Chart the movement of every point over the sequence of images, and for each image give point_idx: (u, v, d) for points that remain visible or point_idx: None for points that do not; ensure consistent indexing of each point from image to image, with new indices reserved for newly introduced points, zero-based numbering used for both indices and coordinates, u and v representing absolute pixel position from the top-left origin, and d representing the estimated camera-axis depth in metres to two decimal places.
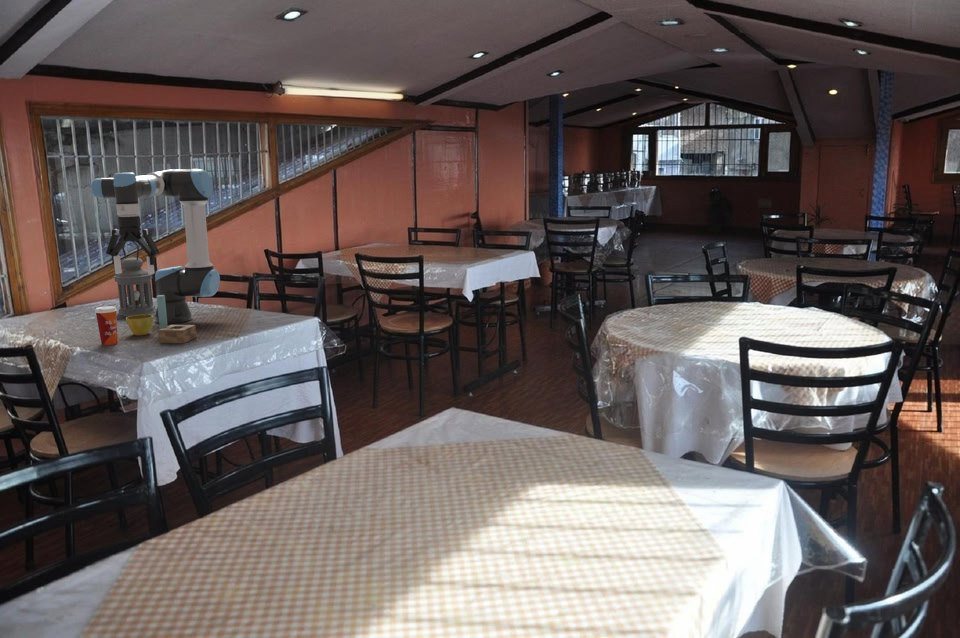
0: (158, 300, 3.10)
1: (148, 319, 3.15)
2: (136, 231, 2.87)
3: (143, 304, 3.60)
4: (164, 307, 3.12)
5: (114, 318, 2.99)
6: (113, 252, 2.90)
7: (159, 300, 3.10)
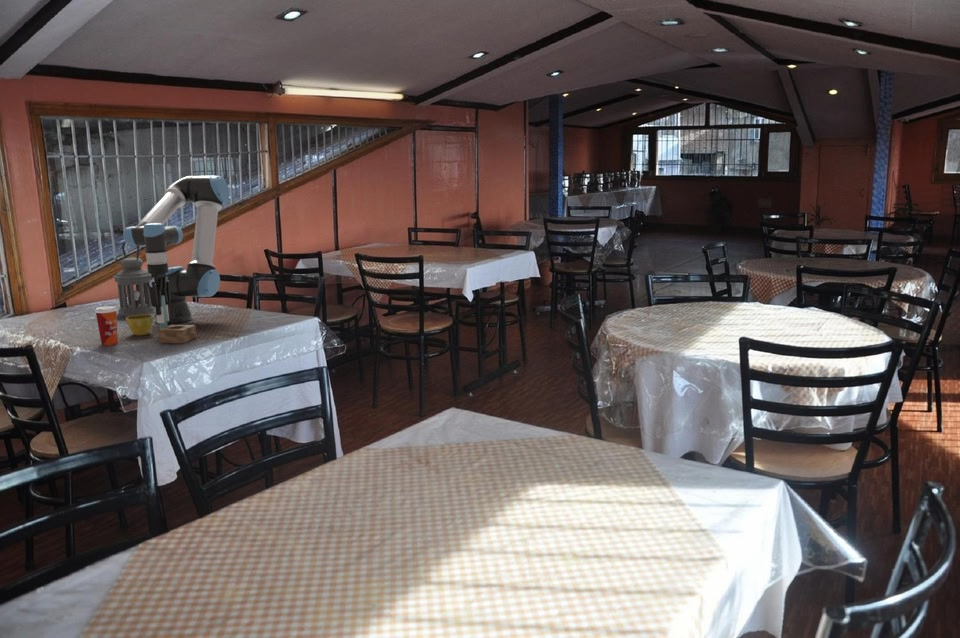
0: None
1: (148, 319, 3.15)
2: None
3: (143, 304, 3.60)
4: (164, 307, 3.12)
5: (114, 318, 2.99)
6: None
7: None
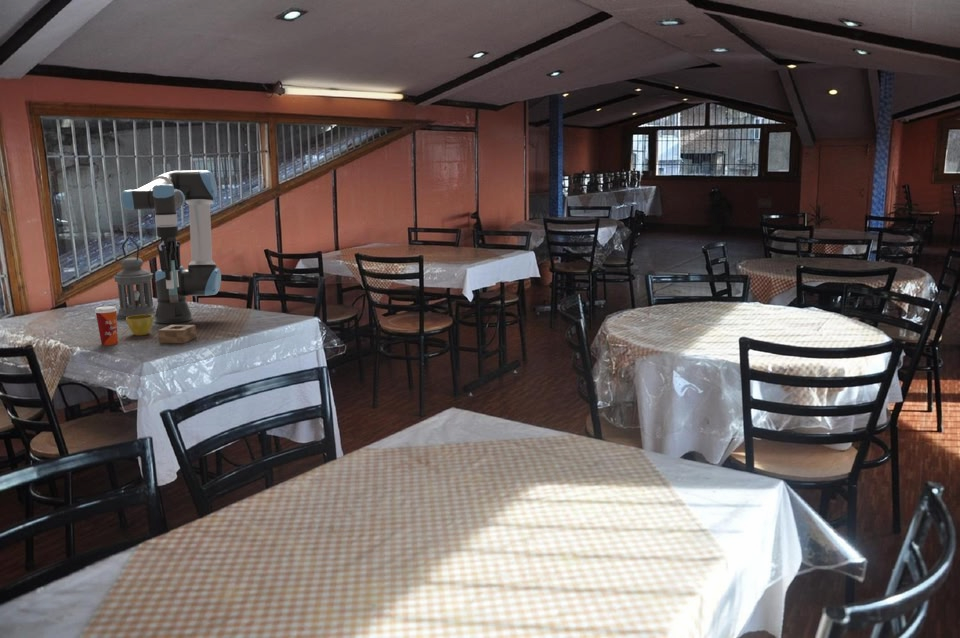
0: None
1: (148, 319, 3.15)
2: None
3: (143, 304, 3.60)
4: (174, 272, 3.00)
5: (114, 318, 2.99)
6: None
7: None
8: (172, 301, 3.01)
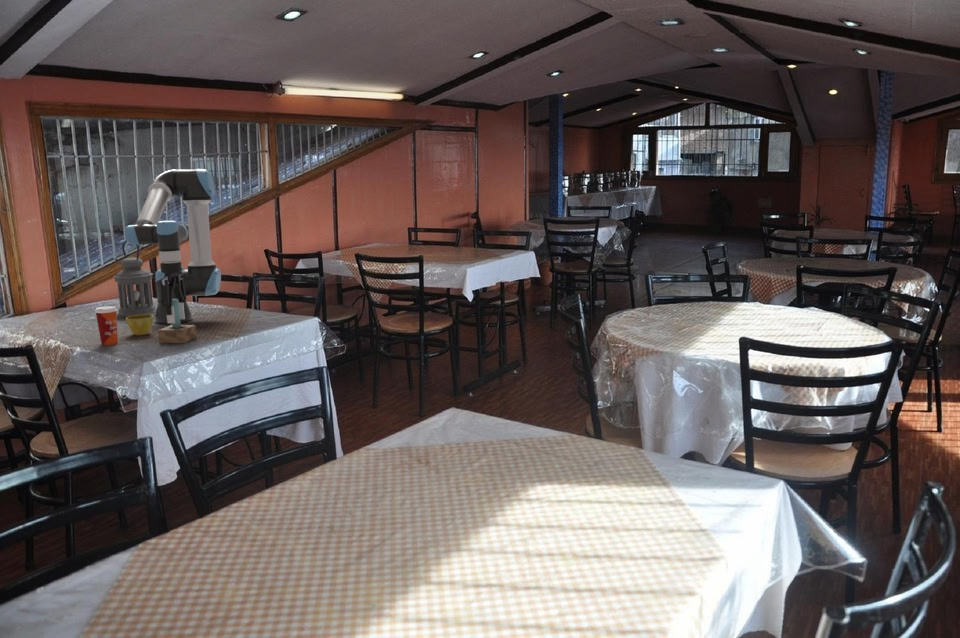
0: (172, 304, 3.01)
1: (148, 319, 3.15)
2: None
3: (143, 304, 3.60)
4: (178, 311, 3.03)
5: (114, 318, 2.99)
6: None
7: (173, 304, 3.01)
8: None
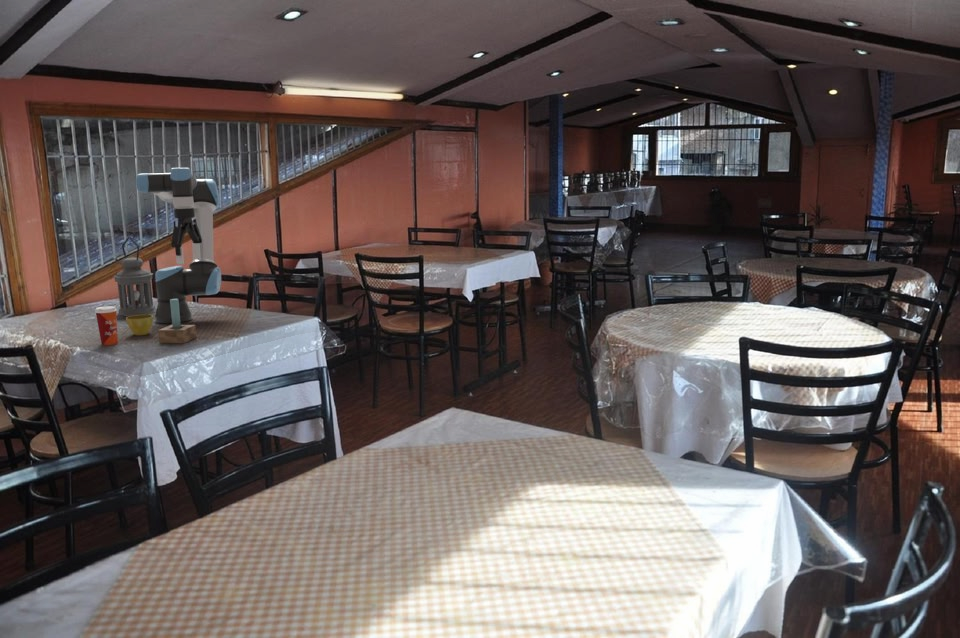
0: (172, 304, 3.01)
1: (148, 319, 3.15)
2: None
3: (143, 304, 3.60)
4: (178, 311, 3.03)
5: (114, 318, 2.99)
6: None
7: (173, 304, 3.01)
8: None
